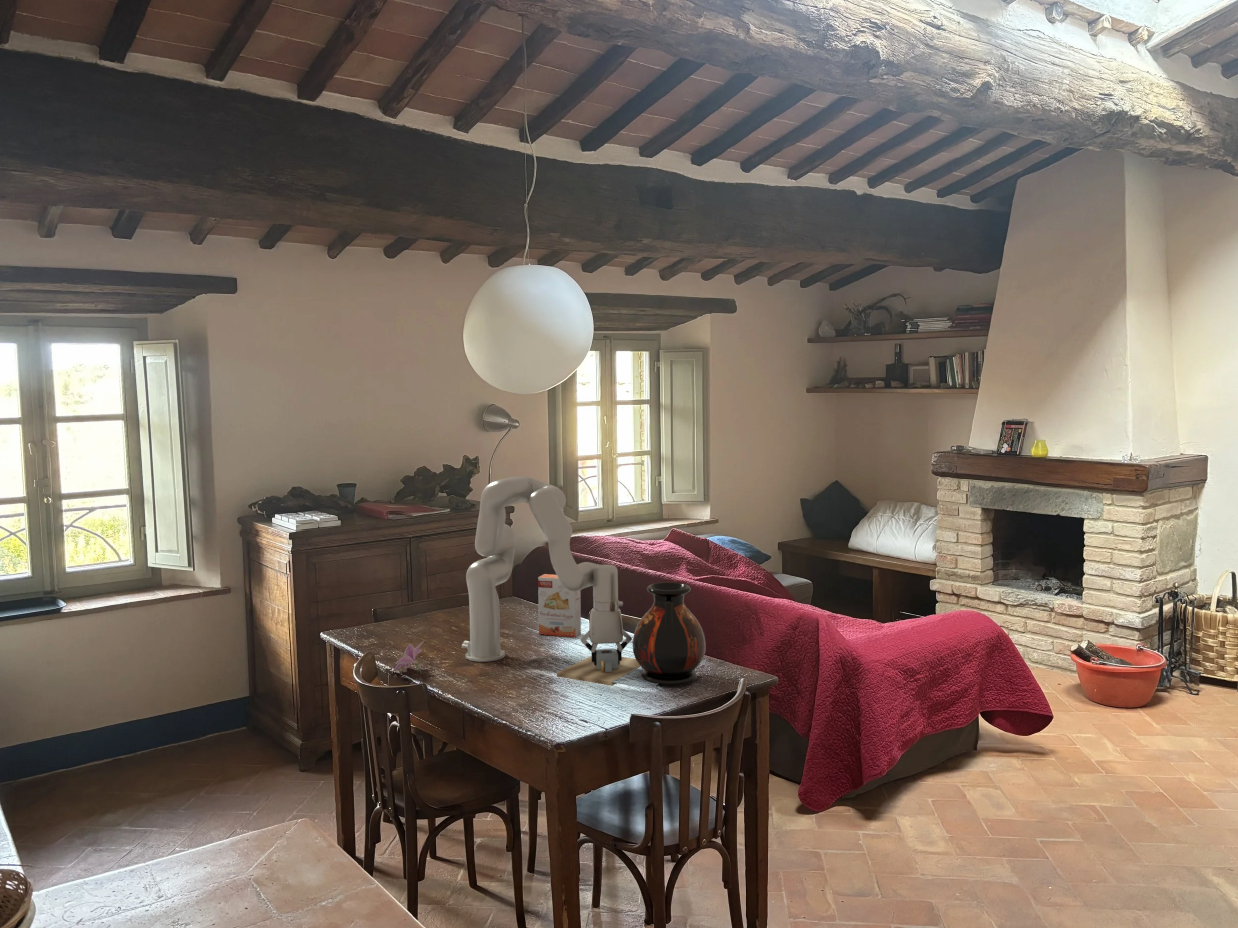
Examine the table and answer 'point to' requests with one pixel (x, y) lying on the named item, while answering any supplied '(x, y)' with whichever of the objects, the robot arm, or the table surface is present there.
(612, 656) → the grey square hole block
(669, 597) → the black orange vase
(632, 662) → the post base
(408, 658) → the lily
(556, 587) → the cracker box
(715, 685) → the table surface
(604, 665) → the cylinder
